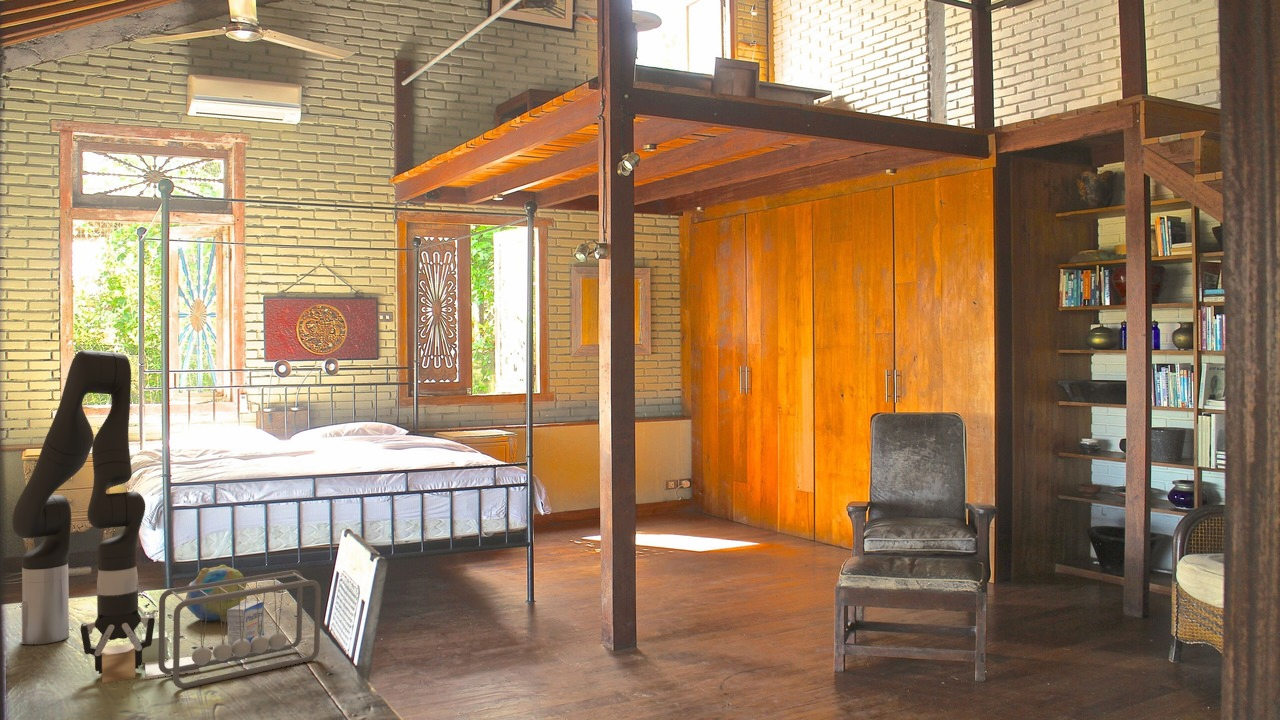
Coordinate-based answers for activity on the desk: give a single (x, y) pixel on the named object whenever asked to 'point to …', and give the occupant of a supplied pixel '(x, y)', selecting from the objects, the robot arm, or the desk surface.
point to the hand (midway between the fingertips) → (118, 670)
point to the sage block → (154, 648)
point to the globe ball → (214, 607)
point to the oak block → (118, 663)
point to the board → (154, 671)
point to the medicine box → (245, 621)
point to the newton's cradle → (240, 646)
